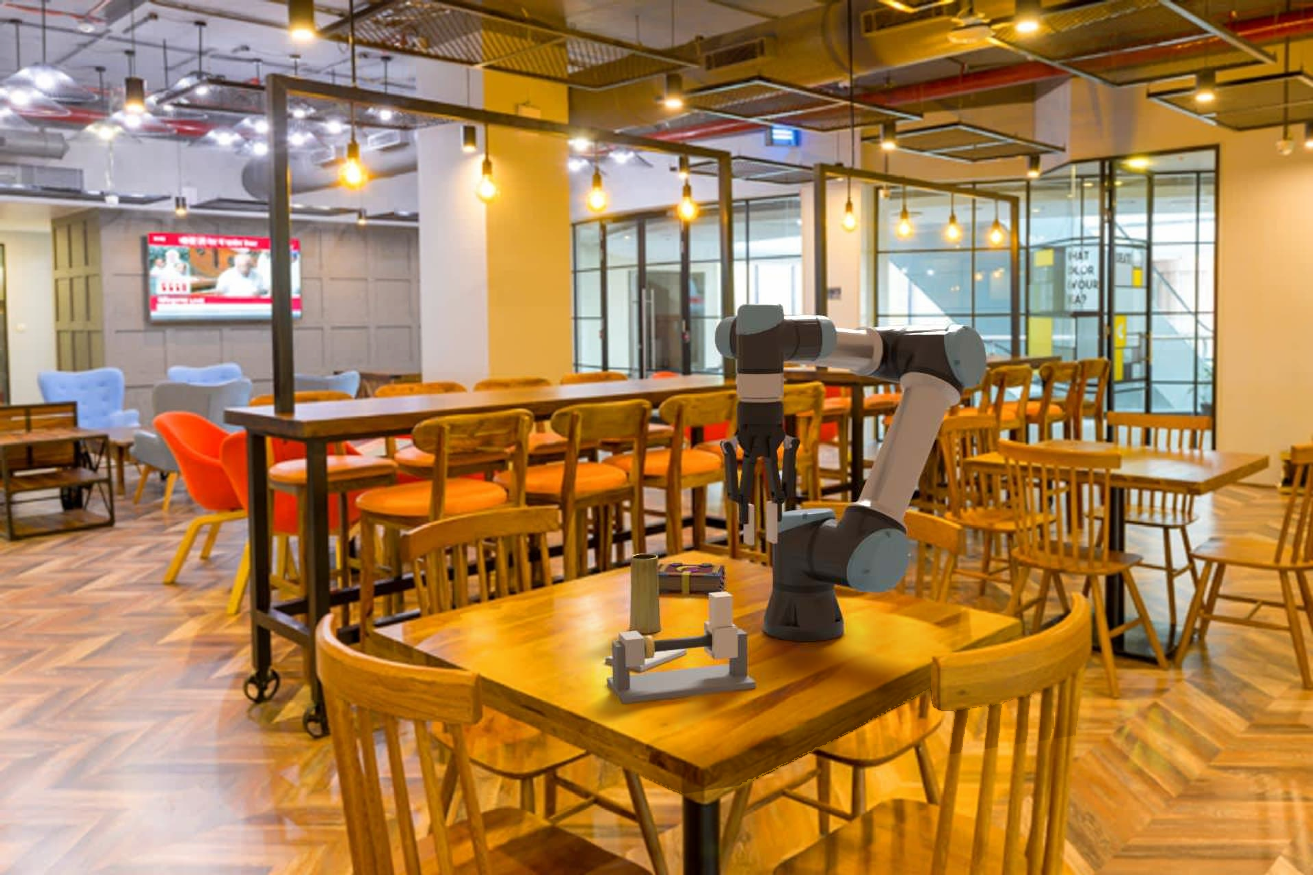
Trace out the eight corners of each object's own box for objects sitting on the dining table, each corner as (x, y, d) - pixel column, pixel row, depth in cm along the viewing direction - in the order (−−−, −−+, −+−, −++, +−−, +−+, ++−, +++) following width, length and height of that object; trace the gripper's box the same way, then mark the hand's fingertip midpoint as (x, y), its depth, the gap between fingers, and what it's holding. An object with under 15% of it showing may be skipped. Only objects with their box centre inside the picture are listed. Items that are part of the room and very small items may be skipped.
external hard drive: (605, 665, 191) (651, 648, 200) (641, 674, 186) (686, 656, 195) (605, 656, 191) (651, 639, 200) (641, 665, 185) (686, 647, 195)
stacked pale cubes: (727, 648, 183) (726, 589, 182) (737, 657, 178) (737, 596, 177) (704, 651, 181) (703, 591, 180) (714, 659, 177) (714, 598, 176)
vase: (667, 628, 211) (666, 555, 209) (645, 635, 206) (644, 561, 205) (644, 623, 215) (643, 551, 213) (622, 629, 210) (621, 556, 209)
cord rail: (732, 669, 186) (732, 616, 185) (755, 687, 177) (755, 631, 176) (607, 683, 180) (606, 628, 179) (623, 703, 170) (622, 645, 169)
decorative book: (659, 582, 250) (659, 560, 249) (730, 583, 247) (730, 562, 246) (651, 594, 239) (651, 571, 238) (725, 596, 236) (725, 573, 235)
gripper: (796, 396, 183) (796, 534, 186) (704, 399, 178) (705, 541, 181) (816, 399, 176) (816, 543, 179) (720, 403, 171) (721, 550, 174)
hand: (760, 542), depth 180 cm, fingers open, 3 cm apart
